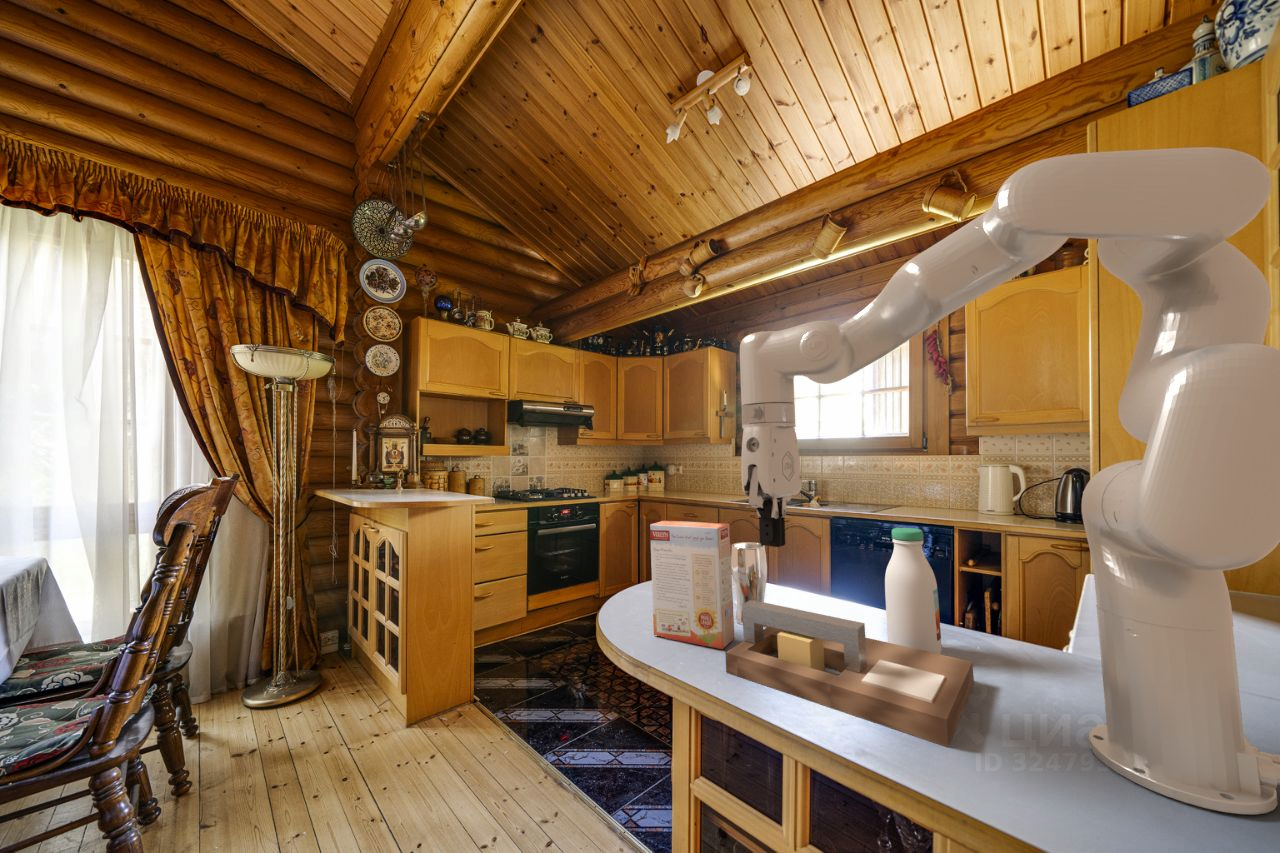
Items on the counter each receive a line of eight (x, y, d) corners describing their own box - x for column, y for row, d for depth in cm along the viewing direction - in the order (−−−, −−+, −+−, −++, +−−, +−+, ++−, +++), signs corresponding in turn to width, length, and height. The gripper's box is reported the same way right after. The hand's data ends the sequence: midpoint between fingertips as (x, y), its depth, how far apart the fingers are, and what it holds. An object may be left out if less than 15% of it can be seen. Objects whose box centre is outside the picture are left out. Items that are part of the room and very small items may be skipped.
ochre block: (824, 672, 72) (822, 632, 72) (811, 684, 68) (809, 642, 68) (793, 663, 75) (791, 624, 75) (779, 674, 71) (777, 634, 72)
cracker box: (735, 639, 85) (731, 522, 86) (722, 651, 80) (718, 527, 81) (668, 626, 93) (664, 518, 94) (652, 636, 88) (648, 523, 89)
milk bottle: (932, 665, 73) (924, 534, 74) (880, 651, 78) (873, 529, 80) (948, 651, 78) (940, 528, 79) (898, 638, 84) (891, 524, 85)
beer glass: (770, 628, 90) (767, 548, 91) (733, 626, 91) (730, 548, 92) (768, 616, 97) (764, 542, 98) (733, 614, 98) (730, 541, 99)
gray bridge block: (866, 665, 67) (864, 623, 67) (859, 672, 64) (857, 629, 65) (752, 635, 79) (751, 599, 79) (743, 640, 77) (742, 604, 77)
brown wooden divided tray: (974, 683, 67) (972, 659, 67) (948, 747, 53) (946, 716, 53) (782, 635, 86) (781, 616, 87) (726, 672, 72) (725, 650, 73)
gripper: (767, 413, 61) (772, 558, 60) (814, 418, 72) (819, 540, 71) (718, 417, 66) (721, 550, 65) (768, 421, 77) (772, 535, 76)
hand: (772, 544), depth 68 cm, fingers closed
